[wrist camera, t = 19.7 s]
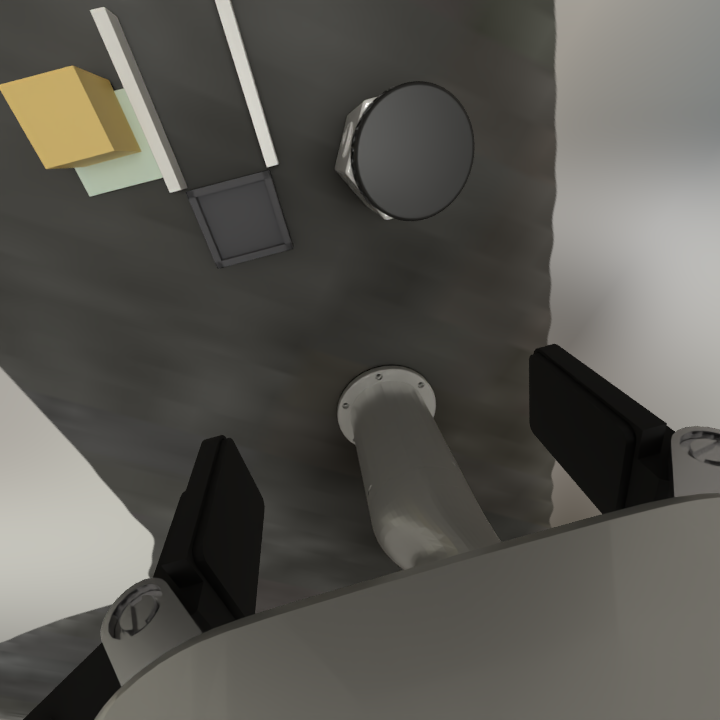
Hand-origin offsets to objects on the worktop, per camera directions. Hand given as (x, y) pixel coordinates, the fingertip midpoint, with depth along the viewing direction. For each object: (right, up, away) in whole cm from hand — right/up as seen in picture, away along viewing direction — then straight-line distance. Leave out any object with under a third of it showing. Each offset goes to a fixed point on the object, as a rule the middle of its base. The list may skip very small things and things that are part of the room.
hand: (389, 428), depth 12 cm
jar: (+1, +21, +24) cm, 32 cm away
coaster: (-22, +20, +20) cm, 36 cm away
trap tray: (-12, +15, +25) cm, 31 cm away
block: (-22, +21, +19) cm, 36 cm away
